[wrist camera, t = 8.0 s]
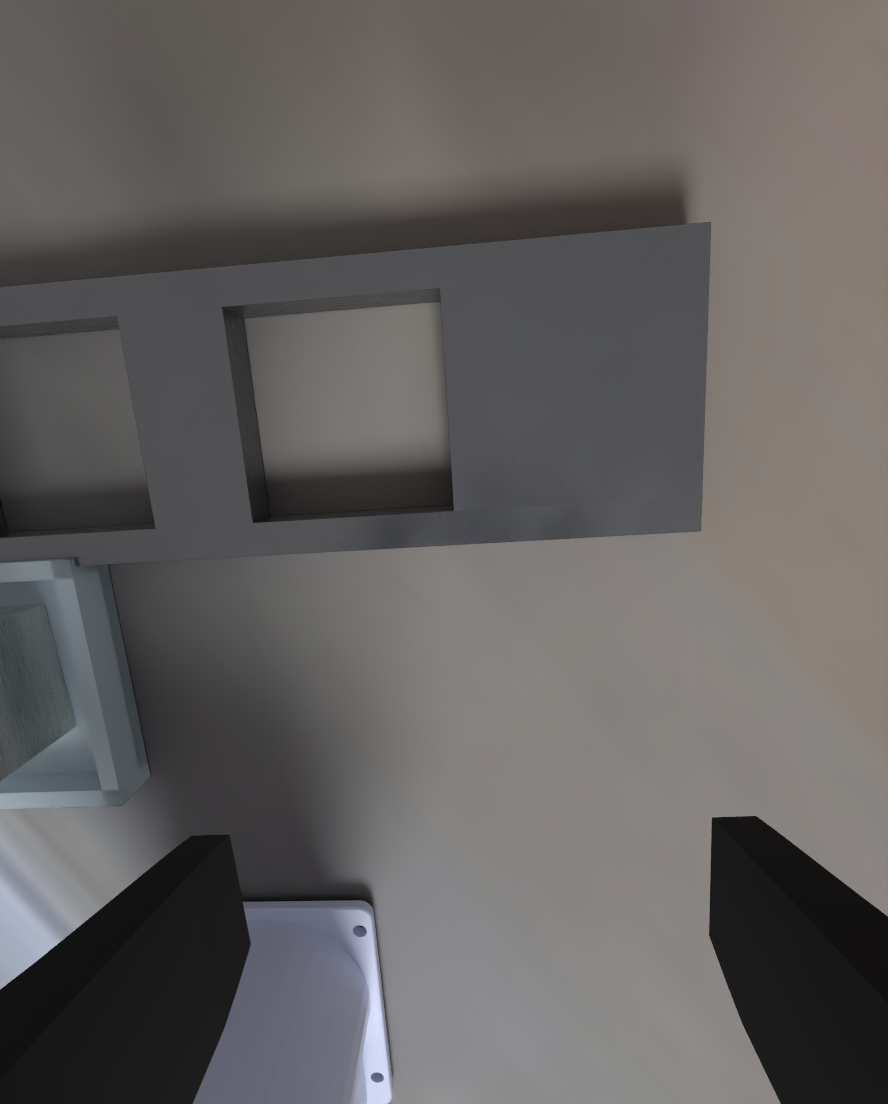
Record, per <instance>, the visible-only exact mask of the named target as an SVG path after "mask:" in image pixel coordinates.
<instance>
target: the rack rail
mask: <svg viewBox="0 0 888 1104" xmlns="http://www.w3.org/2000/svg"><path fill="white" fill-rule="evenodd" d="M710 242H711V222H704V223H693V224H683V225H672V226H661V227H650V228H639V229H628V230H617V231H606V232H595V233H584V234H573V235H563V236H552V237H541V238H530V239H519V240H508V241H497V242H486V243H475V244H464V245H453V246H443V247H432V248H421V249H410V250H399V251H388V252H377V253H366V254H355V255H344V256H333V257H323V258H312V259H301V260H290V261H279V262H268V263H257V264H246V265H235V266H224V267H213V268H202V269H192V270H181V271H170V272H159V273H148V274H137V275H126V276H115V277H104V278H93V279H82V280H72V281H61V282H50V283H39V284H28V285H17V286H6V287H0V339H5V338H16V337H28V336H40V335H52V334H63V333H75V332H87V331H99V330H110V329H120V335H121V340H122V346H123V351H124V357H125V362H126V368H127V373H128V379H129V385H130V390H131V396H132V401H133V407H134V412H135V418H136V423H137V429H138V434H139V440H140V445H141V451H142V457H143V462H144V468H145V473H146V479H147V484H148V490H149V495H150V501H151V506H152V512H153V517H154V523H152V524H136V525H119V526H103V527H86V528H70V529H53V530H37V531H20V532H7V530H6V526H5V522H4V517H3V513H2V509H1V505H0V562H15V561H32V560H50V559H68V558H74V562H75V566H85V565H103V564H121V563H139V562H157V561H175V560H193V559H211V558H229V557H247V556H265V555H283V554H301V553H319V552H337V551H355V550H373V549H391V548H409V547H427V546H445V545H463V544H481V543H499V542H517V541H535V540H553V539H571V538H589V537H607V536H625V535H643V534H661V533H679V532H697V531H701V515H702V484H703V454H704V424H705V394H706V363H707V333H708V303H709V273H710ZM440 301H441V312H442V328H443V344H444V359H445V375H446V391H447V407H448V423H449V438H450V454H451V470H452V486H453V502H454V505H450V506H434V507H417V508H401V509H384V510H368V511H351V512H335V513H318V514H301V515H285V516H270V512H269V504H268V497H267V489H266V482H265V475H264V467H263V460H262V452H261V445H260V438H259V430H258V423H257V415H256V408H255V401H254V393H253V386H252V378H251V371H250V364H249V356H248V349H247V341H246V334H245V327H244V319H243V318H252V317H263V316H275V315H287V314H299V313H310V312H322V311H334V310H346V309H357V308H369V307H381V306H393V305H404V304H416V303H428V302H440Z"/></svg>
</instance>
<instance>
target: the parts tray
mask: <svg viewBox="0 0 888 1104" xmlns="http://www.w3.org/2000/svg"><path fill="white" fill-rule="evenodd" d="M40 603H46V607H47V610H48V614H49V618H50V622H51V626H52V630H53V634H54V638H55V642H56V646H57V650H58V654H59V658H60V662H61V666H62V670H63V674H64V678H65V682H66V686H67V690H68V694H69V698H70V702H71V706H72V710H73V714H74V718H75V722H76V727H75V728H73V729H72V730H70V731H69V732H68V733H66V734H65V735H64V736H62V737H61V738H59V739H58V740H57V741H55V742H54V743H53V744H51V745H50V746H48V747H47V748H46V749H44V750H43V751H42V752H40V753H39V754H37V755H36V756H35V757H33V758H32V759H31V760H29V761H28V762H26V763H25V764H24V765H22V766H21V767H20V768H18V769H17V770H15V771H14V772H13V773H11V774H10V775H9V776H7V777H6V778H4V779H3V780H2V781H0V809H15V808H55V807H94V806H123V805H124V804H125V803H126V802H127V800H128V799H129V798H130V797H131V796H132V795H133V794H134V793H135V792H136V791H137V790H138V789H139V788H140V787H141V786H142V785H143V784H144V783H145V782H146V780H147V779H148V778H149V777H150V771H149V766H148V761H147V756H146V751H145V746H144V741H143V736H142V732H141V727H140V722H139V717H138V712H137V707H136V702H135V697H134V692H133V687H132V682H131V677H130V672H129V667H128V662H127V657H126V652H125V647H124V643H123V638H122V633H121V628H120V623H119V618H118V613H117V608H116V603H115V598H114V593H113V588H112V583H111V578H110V573H109V568H108V564H103V565H85V566H75V562H74V558H68V559H50V560H32V561H15V562H0V606H12V605H26V604H40Z"/></svg>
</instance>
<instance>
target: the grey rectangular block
mask: <svg viewBox="0 0 888 1104" xmlns="http://www.w3.org/2000/svg"><path fill="white" fill-rule="evenodd" d="M75 727H76V722H75V718H74V714H73V710H72V706H71V702H70V698H69V694H68V690H67V686H66V682H65V678H64V674H63V670H62V666H61V662H60V658H59V654H58V650H57V646H56V642H55V638H54V634H53V630H52V626H51V622H50V618H49V614H48V610H47V607H46V603H40V604H26V605H12V606H0V781H2V780H3V779H4V778H6V777H7V776H9V775H10V774H11V773H13V772H14V771H15V770H17V769H18V768H20V767H21V766H22V765H24V764H25V763H26V762H28V761H29V760H31V759H32V758H33V757H35V756H36V755H37V754H39V753H40V752H42V751H43V750H44V749H46V748H47V747H48V746H50V745H51V744H53V743H54V742H55V741H57V740H58V739H59V738H61V737H62V736H64V735H65V734H66V733H68V732H69V731H70V730H72V729H73V728H75Z"/></svg>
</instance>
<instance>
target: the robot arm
mask: <svg viewBox="0 0 888 1104" xmlns="http://www.w3.org/2000/svg"><path fill="white" fill-rule="evenodd" d="M357 925H361V926H364V927H363V928H362V927H359V926H357ZM709 936H710V939H711V941H712V944H713V947H714V950H715V952H716V955H717V958H718V961H719V963H720V966H721V969H722V971H723V974H724V977H725V980H726V982H727V985H728V988H729V990H730V993H731V995H732V998H733V1000H734V1003H735V1006H736V1008H737V1011H738V1013H739V1016H740V1019H741V1021H742V1024H743V1026H744V1028H745V1030H746V1032H747V1034H748V1036H749V1038H750V1040H751V1043H752V1045H753V1047H754V1049H755V1051H756V1053H757V1055H758V1057H759V1059H760V1061H761V1063H762V1066H763V1068H764V1070H765V1072H766V1074H767V1076H768V1078H769V1080H770V1082H771V1084H772V1086H773V1088H774V1090H775V1092H776V1095H777V1097H778V1099H779V1101H780V1103H781V1104H888V916H886V915H885V914H884V913H882V912H881V911H880V910H878V909H877V908H876V907H874V906H873V905H872V904H870V903H869V902H868V901H866V900H865V899H864V898H862V897H861V896H860V895H859V894H857V893H856V892H855V891H853V890H852V889H851V888H849V887H848V886H847V885H846V884H844V883H843V882H842V881H840V880H839V879H838V878H836V877H835V876H834V875H833V874H831V873H830V872H829V871H827V870H826V869H825V868H823V867H822V866H821V865H820V864H818V863H817V862H816V861H814V860H813V859H812V858H811V857H809V856H808V855H807V854H805V853H804V852H803V851H801V850H800V849H799V848H798V847H796V846H795V845H794V844H792V843H791V842H790V841H789V840H787V839H786V838H785V837H783V836H782V835H781V834H779V833H778V832H777V831H775V830H774V829H773V828H771V827H770V826H769V825H767V824H766V823H765V822H763V821H762V820H761V819H759V818H758V817H756V816H745V817H717V818H712V840H711V882H710V924H709ZM392 1092H393V1081H392V1072H391V1063H390V1054H389V1045H388V1036H387V1027H386V1018H385V1009H384V1000H383V991H382V983H381V974H380V965H379V956H378V947H377V938H376V929H375V920H374V911H373V909H372V907H371V906H370V904H369V903H367V902H365V901H360V900H352V901H275V902H243V901H242V896H241V891H240V886H239V880H238V875H237V870H236V865H235V860H234V855H233V850H232V845H231V840H230V835H204V836H191V837H190V838H188V839H187V840H186V841H184V842H183V843H182V844H180V845H179V846H178V847H176V848H175V849H174V850H172V851H171V852H170V853H169V854H167V855H166V856H165V857H164V858H162V859H161V860H160V861H159V862H157V863H156V864H155V865H154V866H153V867H151V868H150V869H149V870H148V871H146V872H145V873H144V874H143V875H142V876H140V877H139V878H138V879H137V880H135V881H134V882H133V883H132V884H131V885H129V886H128V887H127V888H126V889H125V890H123V891H122V892H121V893H120V894H119V895H117V896H116V897H115V898H114V899H113V900H111V901H110V902H109V903H108V904H106V905H105V906H104V907H103V908H102V909H100V910H99V911H98V912H97V913H95V914H94V915H93V916H92V917H91V918H89V919H88V920H87V921H86V922H84V923H83V924H82V925H81V926H80V927H78V928H77V929H76V930H75V931H73V932H72V933H71V934H70V935H69V936H67V937H66V938H65V939H64V940H62V941H61V942H60V943H59V944H58V945H56V946H55V947H54V948H53V949H51V950H50V951H49V952H48V953H47V954H45V955H44V956H43V957H42V958H40V959H39V960H38V961H37V962H35V963H34V964H33V965H32V966H30V967H29V968H28V969H26V970H25V971H24V972H22V973H21V974H20V975H19V976H17V977H16V978H15V979H13V980H12V981H11V982H10V983H8V984H7V985H6V986H4V987H3V988H2V989H1V990H0V1104H387V1103H389V1102H390V1101H391V1099H392Z"/></svg>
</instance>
